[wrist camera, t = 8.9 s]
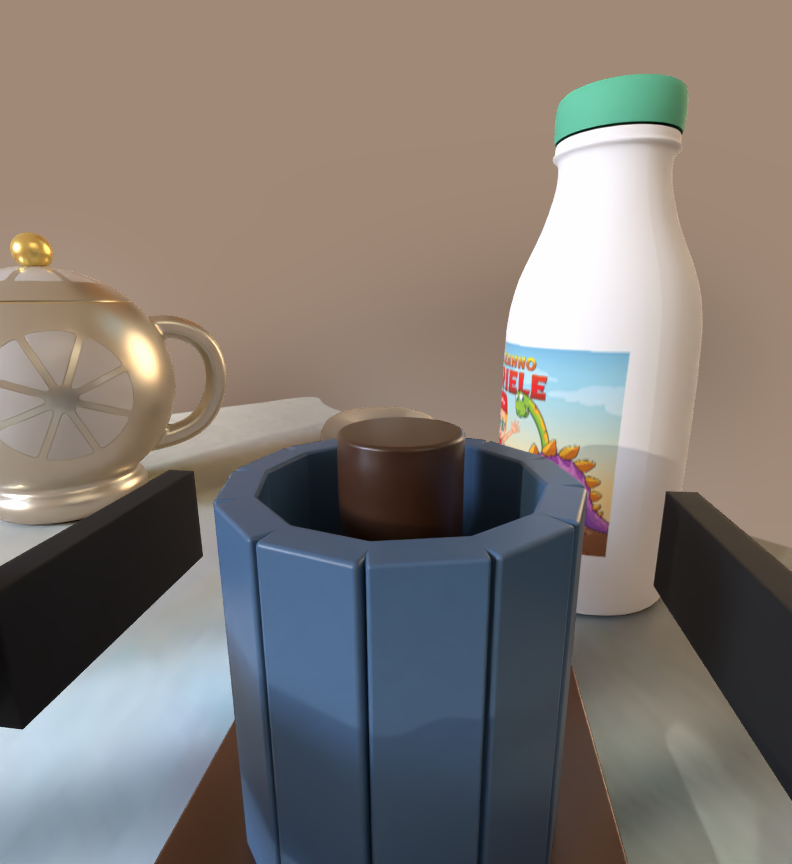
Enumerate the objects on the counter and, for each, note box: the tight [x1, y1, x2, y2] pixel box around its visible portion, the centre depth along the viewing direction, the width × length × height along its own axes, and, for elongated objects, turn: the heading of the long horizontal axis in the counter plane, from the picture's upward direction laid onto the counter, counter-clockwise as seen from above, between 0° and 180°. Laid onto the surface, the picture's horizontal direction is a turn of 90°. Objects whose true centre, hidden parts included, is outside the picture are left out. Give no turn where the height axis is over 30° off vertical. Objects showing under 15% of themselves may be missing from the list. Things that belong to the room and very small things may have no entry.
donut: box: [320, 407, 433, 441], centre depth 43 cm, size 10×4×10 cm
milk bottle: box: [499, 74, 702, 616], centre depth 22 cm, size 8×8×20 cm
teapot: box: [0, 232, 227, 524], centre depth 32 cm, size 18×14×16 cm
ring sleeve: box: [213, 438, 587, 864], centre depth 12 cm, size 7×7×8 cm
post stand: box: [154, 417, 628, 864], centre depth 12 cm, size 10×10×10 cm
